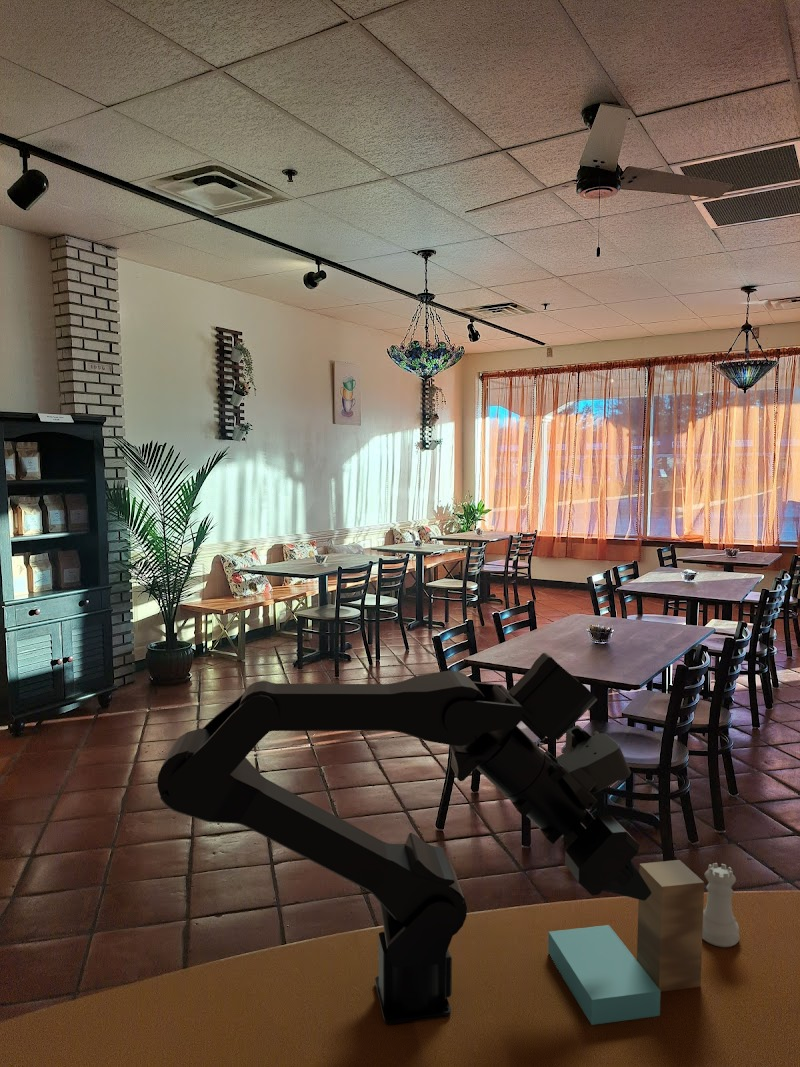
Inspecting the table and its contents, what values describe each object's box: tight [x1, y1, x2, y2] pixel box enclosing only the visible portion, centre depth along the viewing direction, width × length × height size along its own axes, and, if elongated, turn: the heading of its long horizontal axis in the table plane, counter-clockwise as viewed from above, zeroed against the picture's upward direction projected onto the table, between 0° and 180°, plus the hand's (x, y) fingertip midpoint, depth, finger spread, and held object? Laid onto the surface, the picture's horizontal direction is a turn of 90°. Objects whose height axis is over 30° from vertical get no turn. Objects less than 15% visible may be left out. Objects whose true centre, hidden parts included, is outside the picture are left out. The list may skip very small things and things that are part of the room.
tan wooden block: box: [636, 859, 705, 993], centre depth 79 cm, size 5×5×11 cm
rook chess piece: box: [702, 862, 741, 948], centre depth 86 cm, size 4×4×8 cm
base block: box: [547, 924, 662, 1026], centre depth 78 cm, size 7×11×2 cm, turn 11°
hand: (626, 871), depth 78 cm, fingers open, 9 cm apart
